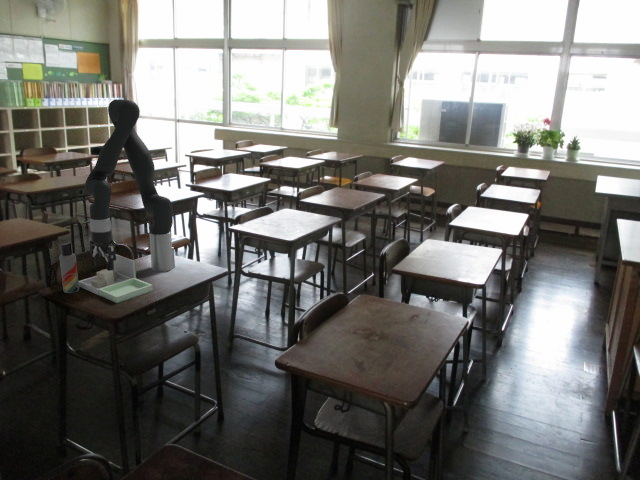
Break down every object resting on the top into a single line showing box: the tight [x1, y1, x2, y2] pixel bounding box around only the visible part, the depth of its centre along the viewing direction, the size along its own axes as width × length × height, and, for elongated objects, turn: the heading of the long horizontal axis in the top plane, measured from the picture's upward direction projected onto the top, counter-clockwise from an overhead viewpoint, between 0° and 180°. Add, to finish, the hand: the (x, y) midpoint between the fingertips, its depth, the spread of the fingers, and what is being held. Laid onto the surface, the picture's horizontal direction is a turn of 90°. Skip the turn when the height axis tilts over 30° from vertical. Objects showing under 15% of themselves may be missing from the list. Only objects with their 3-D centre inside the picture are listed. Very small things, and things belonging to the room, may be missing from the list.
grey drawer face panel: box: [113, 253, 137, 279], centre depth 215 cm, size 1×14×10 cm, turn 54°
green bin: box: [98, 277, 154, 304], centre depth 201 cm, size 16×12×3 cm
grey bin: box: [78, 272, 132, 296], centre depth 209 cm, size 16×14×2 cm
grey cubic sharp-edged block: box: [111, 269, 118, 281], centre depth 212 cm, size 4×4×4 cm
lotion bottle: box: [58, 241, 80, 294], centre depth 199 cm, size 6×6×20 cm
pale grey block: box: [91, 278, 107, 289], centre depth 203 cm, size 4×4×4 cm
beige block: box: [95, 268, 114, 286], centre depth 207 cm, size 4×4×6 cm
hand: (103, 267), depth 206 cm, fingers open, 8 cm apart
